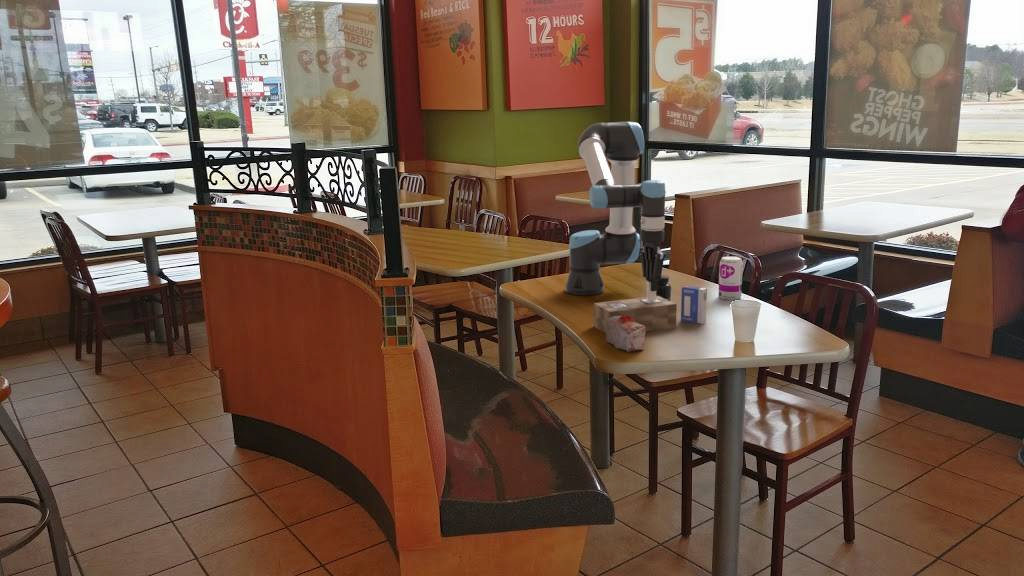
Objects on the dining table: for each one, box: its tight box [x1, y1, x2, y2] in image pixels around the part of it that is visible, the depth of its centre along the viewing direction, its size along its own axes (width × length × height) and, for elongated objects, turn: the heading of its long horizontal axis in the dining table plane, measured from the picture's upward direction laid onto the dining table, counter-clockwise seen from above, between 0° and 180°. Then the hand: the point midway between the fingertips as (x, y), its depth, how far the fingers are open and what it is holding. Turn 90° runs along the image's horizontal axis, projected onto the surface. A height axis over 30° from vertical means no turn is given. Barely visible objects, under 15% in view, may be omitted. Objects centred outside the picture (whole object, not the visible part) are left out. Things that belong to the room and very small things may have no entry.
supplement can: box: [717, 255, 744, 301], centre depth 303 cm, size 8×8×15 cm
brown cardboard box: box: [593, 296, 678, 335], centre depth 269 cm, size 12×24×8 cm, turn 110°
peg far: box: [641, 299, 662, 304], centre depth 270 cm, size 5×5×7 cm
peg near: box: [608, 303, 629, 308], centre depth 267 cm, size 5×5×7 cm
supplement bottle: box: [656, 274, 672, 302], centre depth 289 cm, size 7×7×12 cm
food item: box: [605, 315, 646, 353], centre depth 248 cm, size 14×8×10 cm, turn 27°
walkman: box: [680, 285, 708, 325], centre depth 273 cm, size 8×3×12 cm, turn 56°
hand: (651, 300), depth 269 cm, fingers closed
